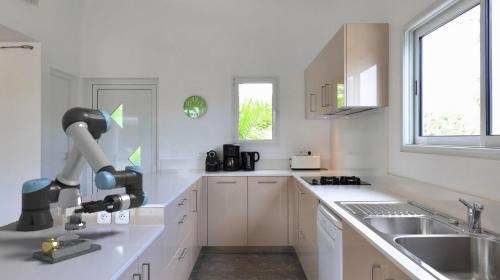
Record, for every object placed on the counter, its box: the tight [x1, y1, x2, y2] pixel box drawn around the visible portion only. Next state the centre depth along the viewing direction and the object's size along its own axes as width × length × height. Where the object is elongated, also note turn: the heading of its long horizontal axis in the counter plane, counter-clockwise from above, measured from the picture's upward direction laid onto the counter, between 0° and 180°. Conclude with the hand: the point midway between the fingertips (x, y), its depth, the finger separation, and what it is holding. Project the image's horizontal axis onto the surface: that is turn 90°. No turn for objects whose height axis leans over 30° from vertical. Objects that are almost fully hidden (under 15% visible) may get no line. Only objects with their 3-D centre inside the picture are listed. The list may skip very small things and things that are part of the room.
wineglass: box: [56, 188, 81, 242], centre depth 137 cm, size 9×9×21 cm
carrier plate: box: [31, 237, 102, 265], centre depth 118 cm, size 14×18×6 cm
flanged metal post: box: [64, 195, 87, 231], centre depth 121 cm, size 7×7×12 cm
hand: (61, 212), depth 116 cm, fingers closed on flanged metal post, 4 cm apart
